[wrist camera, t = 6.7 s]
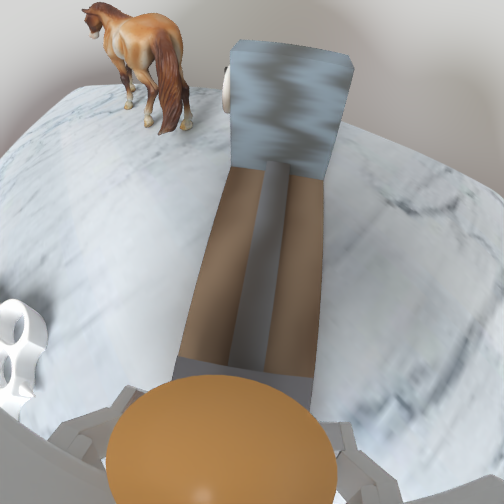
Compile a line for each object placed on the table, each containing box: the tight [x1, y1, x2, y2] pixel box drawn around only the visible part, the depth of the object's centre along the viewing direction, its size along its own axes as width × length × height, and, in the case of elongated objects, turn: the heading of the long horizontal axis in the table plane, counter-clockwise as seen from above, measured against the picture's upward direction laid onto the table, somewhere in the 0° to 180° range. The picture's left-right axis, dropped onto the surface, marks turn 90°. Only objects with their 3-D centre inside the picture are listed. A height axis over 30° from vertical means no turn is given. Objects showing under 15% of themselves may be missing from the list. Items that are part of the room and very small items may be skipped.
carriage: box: [106, 356, 338, 504], centre depth 9 cm, size 8×7×14 cm
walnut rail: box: [178, 40, 354, 396], centre depth 17 cm, size 11×36×15 cm, turn 171°
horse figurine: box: [82, 2, 193, 135], centre depth 29 cm, size 31×8×21 cm, turn 40°
